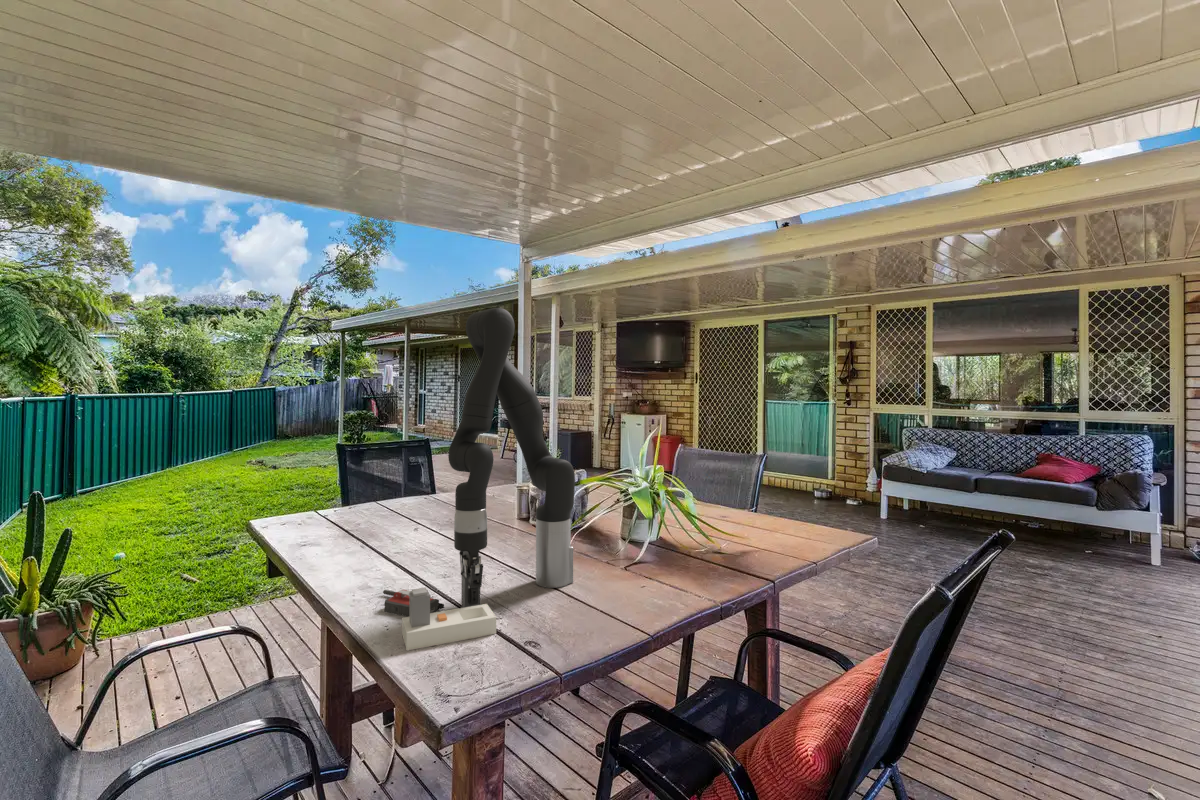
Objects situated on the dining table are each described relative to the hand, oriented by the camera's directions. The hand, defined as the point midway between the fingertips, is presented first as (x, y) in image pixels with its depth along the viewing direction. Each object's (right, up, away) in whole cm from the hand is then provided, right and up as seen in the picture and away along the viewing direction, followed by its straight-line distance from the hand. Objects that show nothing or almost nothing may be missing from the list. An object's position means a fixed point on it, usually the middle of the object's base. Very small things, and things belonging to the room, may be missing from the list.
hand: (470, 599), depth 130 cm
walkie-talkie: (-16, -3, +2) cm, 16 cm away
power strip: (-2, -3, -13) cm, 13 cm away
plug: (0, -2, 0) cm, 2 cm away
